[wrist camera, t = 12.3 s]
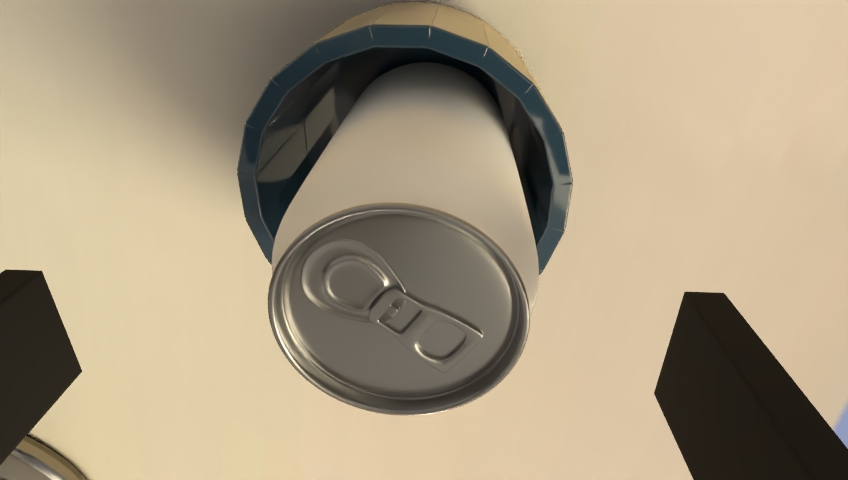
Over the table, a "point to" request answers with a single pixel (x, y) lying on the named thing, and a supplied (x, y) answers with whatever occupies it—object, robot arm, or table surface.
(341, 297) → the can
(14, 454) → the robot arm
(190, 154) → the table surface
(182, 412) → the table surface
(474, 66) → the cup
